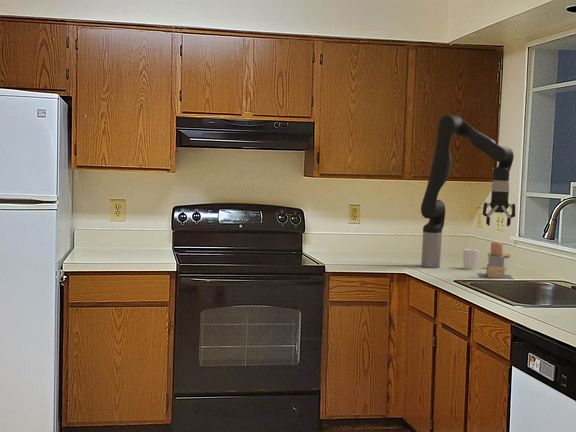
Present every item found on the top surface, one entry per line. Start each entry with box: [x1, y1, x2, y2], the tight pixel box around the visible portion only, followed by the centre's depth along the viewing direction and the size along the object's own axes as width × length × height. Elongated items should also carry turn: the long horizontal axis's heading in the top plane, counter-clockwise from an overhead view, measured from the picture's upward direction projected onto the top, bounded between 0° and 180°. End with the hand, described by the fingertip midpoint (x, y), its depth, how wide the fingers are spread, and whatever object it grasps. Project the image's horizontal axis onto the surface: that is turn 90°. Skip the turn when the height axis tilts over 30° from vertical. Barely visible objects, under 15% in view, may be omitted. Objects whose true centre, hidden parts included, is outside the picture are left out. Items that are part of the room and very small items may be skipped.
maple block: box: [486, 263, 506, 278], centre depth 343 cm, size 7×7×5 cm
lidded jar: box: [487, 252, 511, 270], centre depth 369 cm, size 11×11×9 cm
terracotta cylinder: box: [489, 241, 504, 256], centre depth 342 cm, size 5×5×6 cm
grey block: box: [487, 254, 504, 267], centre depth 343 cm, size 6×6×4 cm
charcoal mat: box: [476, 272, 515, 280], centre depth 344 cm, size 13×15×1 cm
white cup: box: [462, 248, 481, 271], centre depth 364 cm, size 8×8×10 cm
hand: (498, 225), depth 342 cm, fingers open, 8 cm apart
